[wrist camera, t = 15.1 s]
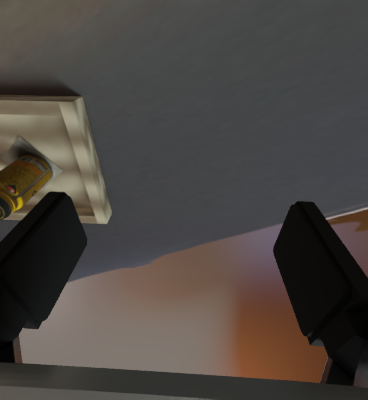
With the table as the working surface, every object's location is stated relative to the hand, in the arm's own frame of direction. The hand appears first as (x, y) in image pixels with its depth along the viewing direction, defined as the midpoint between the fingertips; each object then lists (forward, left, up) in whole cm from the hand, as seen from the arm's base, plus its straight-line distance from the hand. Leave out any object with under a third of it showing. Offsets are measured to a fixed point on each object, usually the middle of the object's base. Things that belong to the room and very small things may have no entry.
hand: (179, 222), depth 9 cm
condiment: (+13, -29, -28) cm, 42 cm away
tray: (+13, -29, -28) cm, 43 cm away
